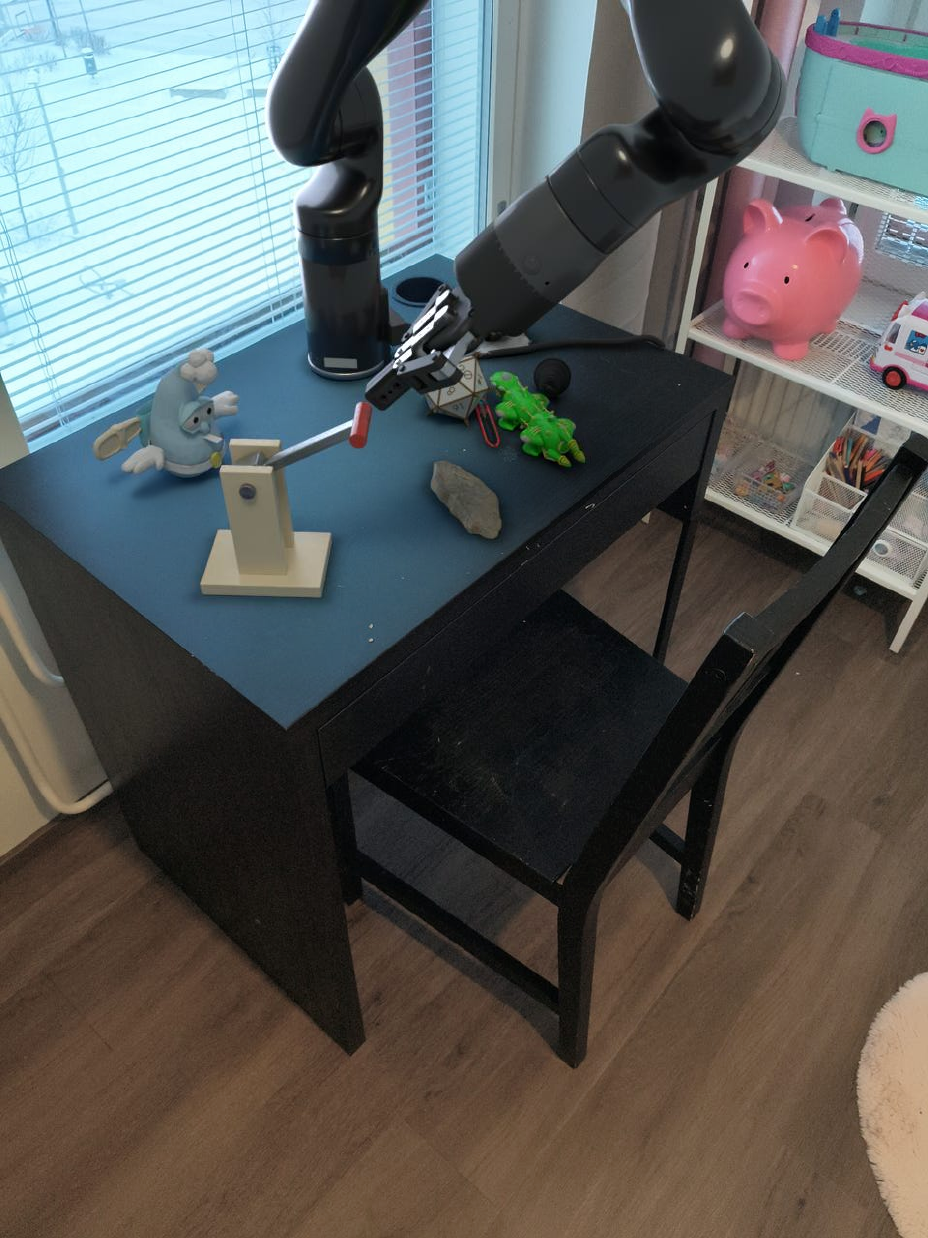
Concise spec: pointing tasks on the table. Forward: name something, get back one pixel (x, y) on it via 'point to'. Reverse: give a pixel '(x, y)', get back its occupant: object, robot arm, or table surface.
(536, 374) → the chess piece
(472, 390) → the game die
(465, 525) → the stone
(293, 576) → the lever stand
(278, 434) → the table surface
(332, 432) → the lever
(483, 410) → the red paper clip
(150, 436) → the toy figure
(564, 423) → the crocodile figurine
